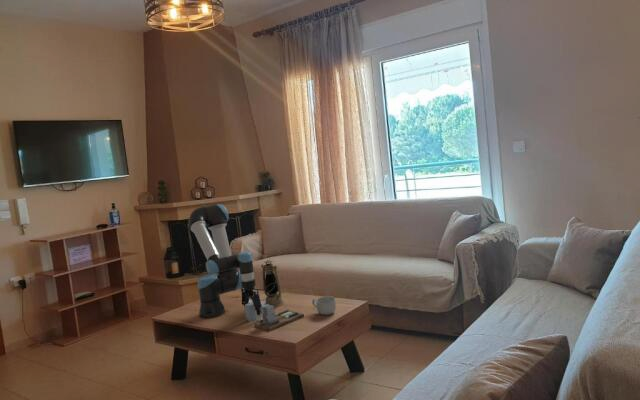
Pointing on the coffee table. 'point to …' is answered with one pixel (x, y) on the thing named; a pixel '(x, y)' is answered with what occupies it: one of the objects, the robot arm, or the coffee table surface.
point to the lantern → (271, 285)
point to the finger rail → (276, 318)
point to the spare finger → (250, 311)
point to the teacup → (325, 305)
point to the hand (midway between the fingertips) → (253, 318)
